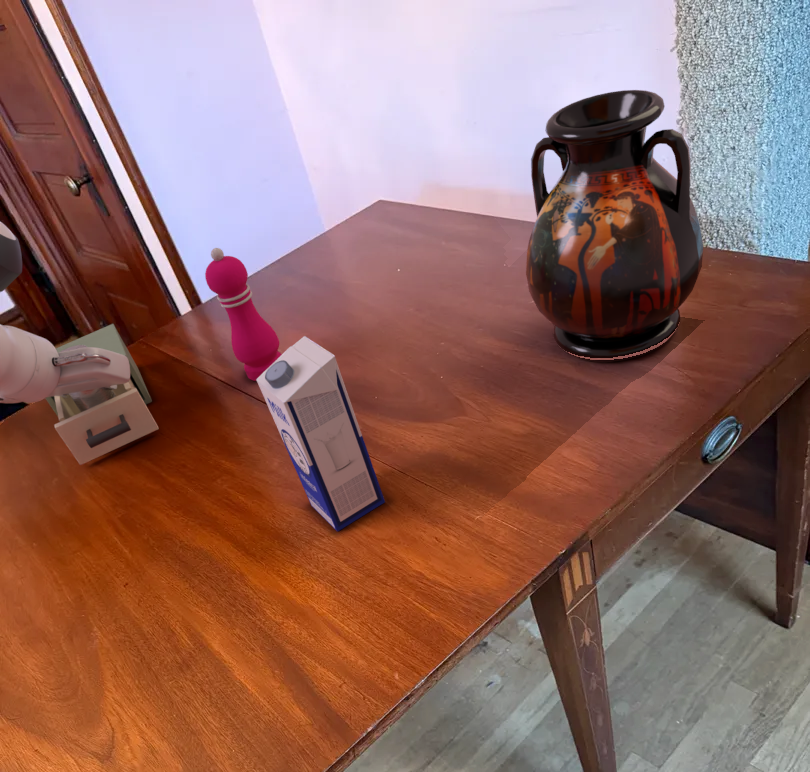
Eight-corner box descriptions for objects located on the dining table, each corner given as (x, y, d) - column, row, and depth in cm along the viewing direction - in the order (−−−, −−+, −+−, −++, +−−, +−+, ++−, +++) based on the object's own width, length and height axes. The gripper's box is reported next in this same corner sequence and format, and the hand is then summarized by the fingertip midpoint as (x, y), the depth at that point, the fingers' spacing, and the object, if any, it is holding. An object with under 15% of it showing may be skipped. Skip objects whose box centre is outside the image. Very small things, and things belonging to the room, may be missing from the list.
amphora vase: (509, 368, 102) (472, 152, 83) (574, 289, 113) (554, 83, 94) (667, 387, 90) (666, 141, 71) (722, 297, 101) (734, 64, 83)
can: (95, 440, 111) (51, 371, 103) (91, 423, 115) (48, 356, 107) (130, 423, 112) (89, 354, 104) (125, 408, 116) (85, 340, 108)
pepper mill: (265, 355, 122) (215, 235, 109) (297, 360, 118) (249, 237, 105) (236, 379, 119) (180, 259, 105) (267, 386, 115) (213, 262, 101)
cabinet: (152, 401, 120) (126, 355, 114) (72, 438, 118) (41, 392, 112) (137, 367, 131) (113, 323, 125) (63, 400, 129) (35, 357, 123)
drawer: (164, 441, 108) (142, 402, 104) (83, 479, 106) (57, 441, 102) (143, 392, 121) (123, 356, 117) (71, 425, 119) (47, 389, 115)
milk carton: (386, 502, 87) (334, 354, 74) (338, 532, 86) (276, 385, 72) (356, 477, 92) (303, 333, 79) (310, 505, 91) (248, 362, 77)
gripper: (90, 328, 95) (152, 355, 108) (-44, 355, 99) (31, 377, 113) (95, 377, 94) (156, 398, 108) (-39, 402, 99) (35, 419, 112)
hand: (91, 388), depth 110 cm, fingers closed on can, 5 cm apart
